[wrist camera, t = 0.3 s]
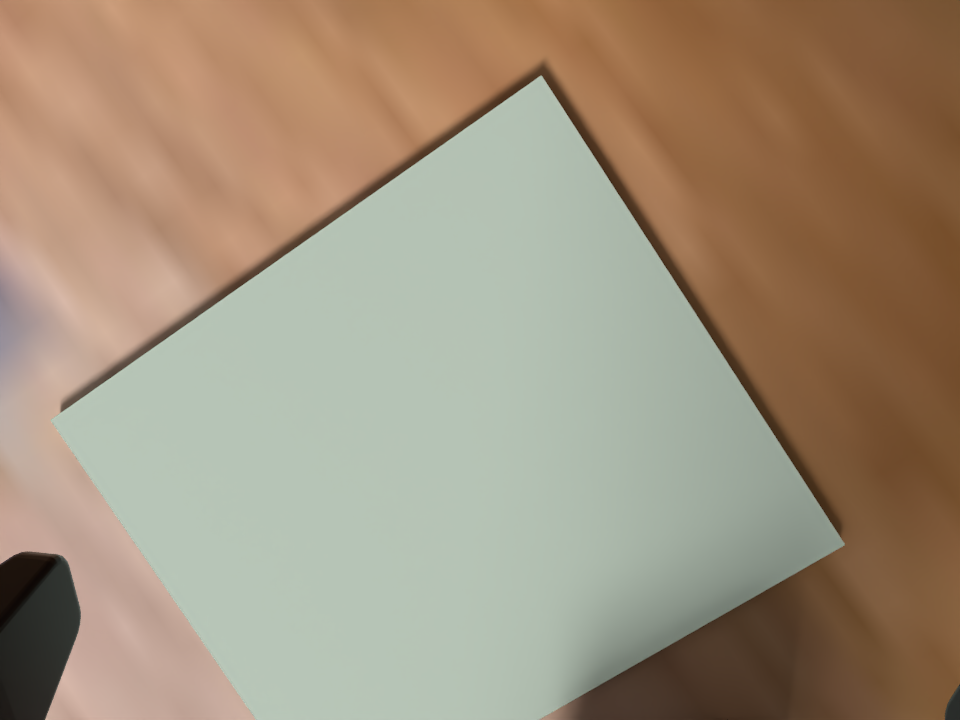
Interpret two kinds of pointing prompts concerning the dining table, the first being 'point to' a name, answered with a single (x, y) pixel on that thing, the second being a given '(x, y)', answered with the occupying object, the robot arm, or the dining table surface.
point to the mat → (450, 449)
